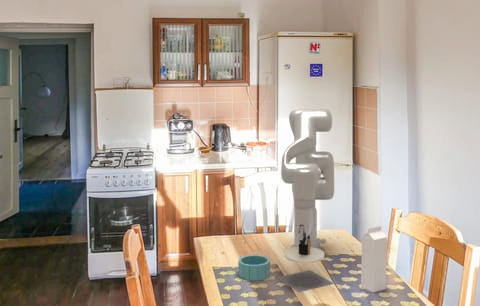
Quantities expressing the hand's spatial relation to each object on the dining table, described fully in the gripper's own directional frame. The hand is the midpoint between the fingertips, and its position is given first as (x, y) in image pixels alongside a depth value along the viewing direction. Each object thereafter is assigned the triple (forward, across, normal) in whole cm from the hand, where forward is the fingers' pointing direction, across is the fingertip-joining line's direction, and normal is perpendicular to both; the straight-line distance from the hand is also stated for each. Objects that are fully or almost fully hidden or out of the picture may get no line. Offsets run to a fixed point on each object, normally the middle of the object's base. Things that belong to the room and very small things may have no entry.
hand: (304, 251), depth 185 cm
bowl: (+11, 0, -19) cm, 22 cm away
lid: (+2, 0, 0) cm, 2 cm away
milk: (+11, +1, +24) cm, 27 cm away
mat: (+11, +1, 0) cm, 11 cm away
